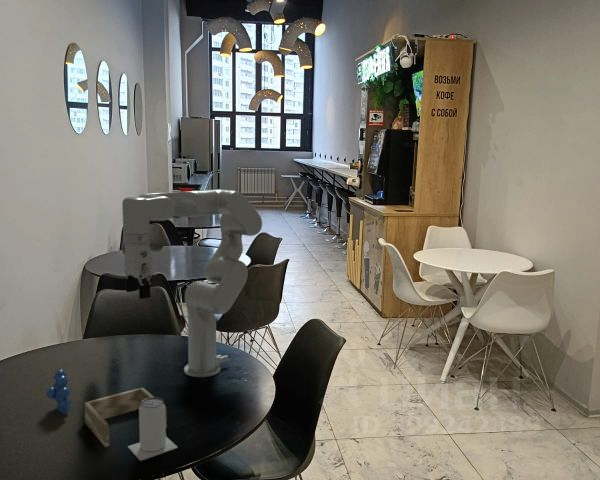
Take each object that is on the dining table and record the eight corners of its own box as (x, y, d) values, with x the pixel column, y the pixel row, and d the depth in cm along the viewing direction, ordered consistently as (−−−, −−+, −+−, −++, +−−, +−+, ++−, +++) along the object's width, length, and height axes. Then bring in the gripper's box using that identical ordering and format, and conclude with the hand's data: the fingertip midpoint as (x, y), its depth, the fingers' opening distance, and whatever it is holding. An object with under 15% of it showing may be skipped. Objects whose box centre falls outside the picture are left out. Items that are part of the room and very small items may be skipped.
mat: (163, 435, 147) (163, 434, 147) (177, 448, 141) (177, 446, 141) (127, 447, 141) (127, 446, 141) (140, 461, 134) (140, 459, 134)
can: (158, 454, 137) (157, 409, 135) (135, 450, 139) (133, 406, 137) (170, 441, 143) (169, 398, 141) (147, 438, 145) (146, 395, 143)
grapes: (43, 405, 162) (41, 367, 160) (68, 400, 166) (66, 363, 164) (50, 422, 153) (47, 381, 151) (75, 416, 156) (73, 376, 154)
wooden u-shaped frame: (143, 406, 163) (142, 387, 162) (166, 427, 151) (166, 407, 150) (84, 422, 153) (83, 402, 152) (105, 447, 140) (104, 425, 140)
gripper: (161, 241, 159) (162, 299, 161) (137, 234, 172) (138, 287, 175) (136, 243, 154) (137, 302, 157) (113, 236, 167) (115, 290, 170)
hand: (138, 294), depth 166 cm, fingers open, 9 cm apart
